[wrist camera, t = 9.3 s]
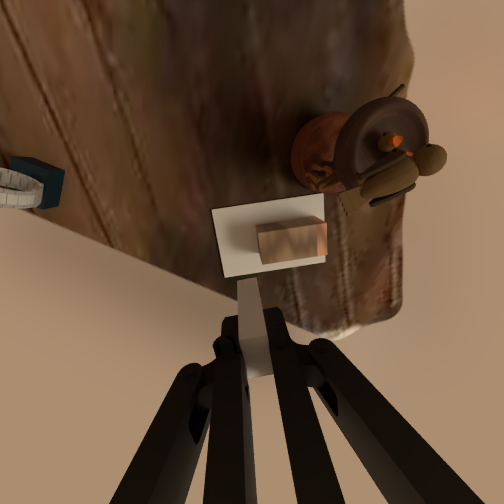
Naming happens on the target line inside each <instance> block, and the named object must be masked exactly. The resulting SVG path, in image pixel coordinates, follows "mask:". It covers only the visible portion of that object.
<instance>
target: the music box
mask: <svg viewBox="0 0 504 504" xmlns="http://www.w3.org/2000/svg"><path fill="white" fill-rule="evenodd" d="M404 87H405V85H404V84H401V85H400V86H399V87H398V88H397V89H396V90H395V91H394V92H393V93H391V94H390V95H389V96H388V97H383V98H379V99H375V100H373V101H370V102H368V103H367V104H365V105H363V106H362V107H360V108H359V109H358V110H356V111H355V112H354V113H353V114H352V115H351V114H349V113H346V112H330V113H327V114H324V115H321V116H319V117H316V118H314V119H312V120H310V121H309V122H307V123H306V124H305V125H304V126H303V127H302V128H301V129H300V131H299V132H298V134H297V135H296V137H295V139H294V142H293V145H292V149H291V166H292V169H293V172H294V174H295V176H296V178H297V179H298V180H299V182H300V183H302V184H303V185H304V186H306V187H307V188H309V189H311V190H312V191H314V190H315V191H318V192H321V193H335V192H338V191H341V190H343V189H344V190H345V191H342V192H339V193H338V197H339V198H340V202H342V206H343V207H344V211H346V215H347V216H351V215H352V214H353V213H354V212H356V211H357V210H358V209H359V208H360V207H361V206H362V205H363V204H364V203H366V202H367V201H368V200H369V199H370V198H374V199H373V200H372V201H370V202H369V205H370V206H371V207H374V206H377V205H380V204H382V203H385V202H387V201H390V200H392V199H394V198H396V197H399V196H401V195H403V194H405V193H407V192H409V191H411V190H412V189H414V188H415V186H416V184H415V181H416V180H417V178H418V176H419V175H420V176H430V175H433V174H435V173H437V172H438V171H440V170H441V169H442V168H443V166H444V165H445V163H446V160H447V153H446V151H445V149H444V148H442V147H441V146H439V145H434V144H428V142H429V131H428V125H427V122H426V119H425V117H424V115H423V113H422V112H421V110H420V109H419V108H418V107H417V106H416V105H415V104H413V103H412V102H410V101H409V100H406V99H404V98H400V97H395V96H396V95H397V94H398V93H399V92H400V91H401V90H402V89H403V88H404ZM346 188H347V189H346Z"/></svg>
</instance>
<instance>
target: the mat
mask: <svg viewBox="0 0 504 504" xmlns="http://www.w3.org/2000/svg"><path fill="white" fill-rule="evenodd" d="M212 215H213V220H214V225H215V230H216V235H217V240H218V245H219V250H220V255H221V261H222V266H223V271H224V276H225V277H232V276H238V275H244V274H251V273H257V272H264V271H270V270H277V269H283V268H289V267H296V266H302V265H309V264H315V263H322V262H325V255H323V256H317V257H310V258H304V259H297V260H291V261H284V262H278V263H271V264H265V265H262V262H261V259H260V255H259V250H258V242H257V235H256V228H255V225H260V224H266V223H273V222H280V221H286V220H293V219H299V218H306V217H313V216H316V217H317V218H319V219H321V220H323V221H324V195H323V193H320V194H313V195H306V196H299V197H293V198H286V199H279V200H272V201H266V202H259V203H252V204H246V205H239V206H232V207H225V208H219V209H212Z"/></svg>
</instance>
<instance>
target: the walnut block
mask: <svg viewBox="0 0 504 504" xmlns="http://www.w3.org/2000/svg"><path fill="white" fill-rule="evenodd" d="M255 228H256V235H257V242H258V250H259V255H260V259H261V262H262V265H265V264H271V263H278V262H284V261H291V260H297V259H304V258H310V257H317V256H323V255H327V223H326V222H324V221H323V220H321V219H319V218H317V217H316V216H313V217H306V218H299V219H293V220H286V221H280V222H273V223H266V224H260V225H255Z"/></svg>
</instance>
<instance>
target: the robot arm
mask: <svg viewBox="0 0 504 504" xmlns="http://www.w3.org/2000/svg"><path fill="white" fill-rule="evenodd" d="M237 289H238V315H235V316H229V317H225V319H224V320H223V322H222V328H221V329H222V330H221V336H220V337H218V338H217V339H216V340H215V341H214V343H213V349H214V352H215V355H216V359H215V360H213V361H212V362H210V363H209V364H207V365H204V366H201V365H200V364H198V363H190V364H188V365H186V366H184V367H183V368H182V369H181V370H180V371H179V373H178V374H177V376H176V378H175V380H174V381H173V384H172V385H171V387H170V389H169V391H168V393H167V395H166V397H165V399H164V401H163V402H162V404H161V406H160V408H159V410H158V412H157V414H156V416H155V418H154V419H153V421H152V423H151V425H150V427H149V429H148V431H147V433H146V435H145V437H144V438H143V441H142V442H141V444H140V446H139V448H138V450H137V452H136V454H135V456H134V457H133V459H132V461H131V463H130V465H129V467H128V469H127V471H126V473H125V475H124V476H123V478H122V480H121V482H120V484H119V486H118V488H117V490H116V492H115V494H114V496H113V497H112V499H111V501H110V503H109V504H185V501H186V497H187V495H188V491H189V488H190V485H191V482H192V478H193V475H194V472H195V469H196V466H197V462H198V459H199V456H200V453H201V449H202V446H203V443H204V440H205V437H206V433H207V430H208V427H209V424H210V431H209V442H208V453H207V464H206V474H205V485H204V496H203V504H257V494H256V479H255V464H254V449H253V435H252V421H251V406H250V393H249V385H248V381H247V376H248V379H250V378H255V377H261V376H265V375H271V374H274V378H275V384H276V389H277V395H278V399H279V405H280V411H281V416H282V422H283V427H284V433H285V438H286V444H287V449H288V454H289V460H290V465H291V471H292V476H293V481H294V487H295V493H296V498H297V503H298V504H345V501H344V498H343V495H342V491H341V489H340V485H339V482H338V479H337V476H336V473H335V470H334V467H333V464H332V461H331V458H330V455H329V452H328V449H327V445H326V442H325V440H324V436H323V433H322V430H321V427H320V424H319V421H318V418H317V415H316V412H315V408H314V406H313V402H312V400H311V396H310V393H309V390H308V387H313V388H314V390H315V391H316V393H317V394H318V396H319V398H320V399H321V401H322V402H323V404H324V405H325V407H326V408H327V410H328V411H329V413H330V414H331V416H332V418H333V419H334V421H335V422H336V424H337V425H338V427H339V428H340V430H341V431H342V433H343V434H344V436H345V437H346V439H347V441H348V442H349V444H350V445H351V447H352V448H353V450H354V451H355V453H356V454H357V456H358V458H359V459H360V461H361V462H362V464H363V465H364V467H365V468H366V470H367V471H368V473H369V474H370V476H371V478H372V479H373V481H374V482H375V484H376V485H377V487H378V488H379V490H380V491H381V493H382V494H383V496H384V497H385V499H386V500H387V502H388V504H485V503H483V501H482V500H481V499H480V498H479V497H478V496H477V495H476V494H475V493H474V492H473V491H472V490H471V489H470V487H468V485H467V484H466V483H465V482H464V481H463V480H462V479H461V478H460V477H459V476H458V475H457V474H456V473H455V472H454V471H453V469H452V468H451V467H450V466H449V465H447V463H446V462H445V461H444V460H443V459H442V458H441V457H440V456H439V455H438V454H437V453H436V452H435V450H434V449H433V448H432V447H431V446H430V445H429V444H428V443H427V442H426V441H425V440H424V439H423V438H422V437H421V436H420V434H418V433H417V431H416V430H415V429H414V428H413V427H412V426H411V425H410V424H409V423H408V422H407V421H406V420H405V419H404V418H403V417H402V416H401V414H400V413H399V412H398V411H397V410H396V409H395V408H394V407H393V406H392V405H391V404H390V403H389V402H388V401H387V400H386V398H385V397H384V396H383V395H382V394H381V393H380V392H379V391H378V390H377V389H376V388H375V387H374V386H373V385H372V384H371V383H370V382H369V380H367V378H366V377H365V376H364V375H363V374H362V373H361V372H360V371H359V370H358V369H357V368H356V367H355V366H354V365H353V364H352V362H351V361H350V360H349V359H348V358H347V357H346V356H345V355H344V354H343V353H342V352H341V351H340V350H339V349H338V348H337V347H336V345H335V344H334V343H333V342H331V341H330V340H327V339H325V338H319V339H314V340H313V341H311V342H310V344H309V345H301V344H297V343H295V342H294V341H292V339H291V338H290V336H289V333H288V330H287V326H286V323H285V320H284V317H283V314H282V311H281V310H280V309H279V308H278V307H274V308H268V309H263V310H262V305H261V299H260V294H259V289H258V284H257V279H256V277H255V278H250V279H245V280H239V281H237Z"/></svg>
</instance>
